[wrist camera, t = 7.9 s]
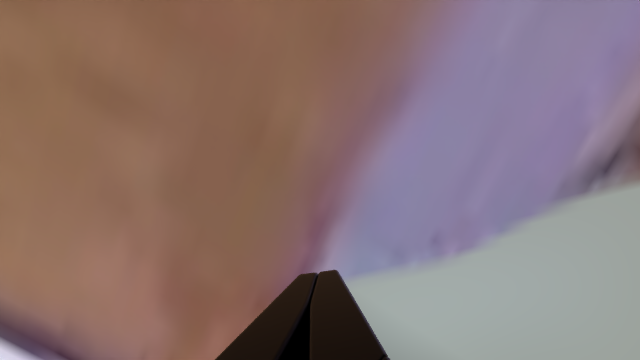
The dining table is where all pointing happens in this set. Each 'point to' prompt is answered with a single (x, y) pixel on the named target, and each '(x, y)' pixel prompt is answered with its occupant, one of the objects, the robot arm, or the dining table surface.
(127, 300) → the dining table surface
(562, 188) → the dining table surface
